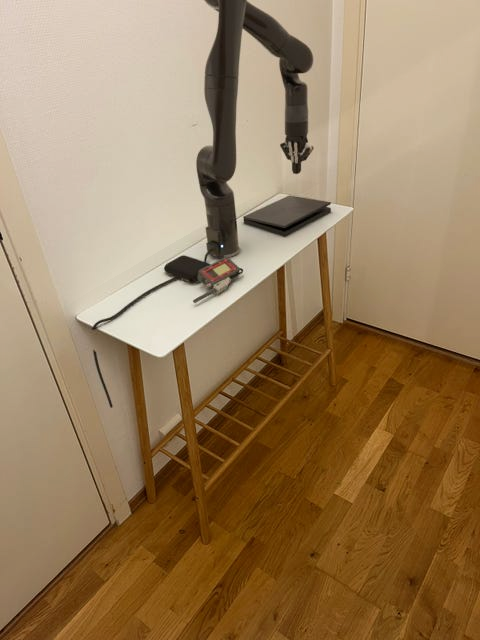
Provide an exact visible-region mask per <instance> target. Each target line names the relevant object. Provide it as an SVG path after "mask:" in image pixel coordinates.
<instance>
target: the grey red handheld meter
mask: <svg viewBox="0 0 480 640" xmlns="http://www.w3.org/2000/svg"><path fill="white" fill-rule="evenodd" d="M209 264H210V265H208V266H207V267H205V268H203V269H201V270H199V272H198V277H197V278H198V283H202V284H203V285H204V286H205V288H206V289H207V290H208V291H207V292H205V293H203V294H202V295H199V296H198V297H196V298H194V299H193V300H192V303H193V304H197V303H198V302H200V301H202V300H204V299H205V298H207V297H209V296H211V295H214V294H216V295H219V294H220V293H222V292H223V291H225V290H227V289H228V286H229V284H230V283H231V282H232V280H233V279H235V278H238V277H239V276H240V275H241V274H243V273H244V269H243V268H241V267H240V266H238V265H237V264H236V262H234V261H233V260H232V259H231V257H224V258H222V259H218V260H216V261H215V262H213V263H209Z"/></svg>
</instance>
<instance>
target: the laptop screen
mask: <svg viewBox="0 0 480 640" xmlns="http://www.w3.org/2000/svg"><path fill="white" fill-rule="evenodd" d="M330 205H332V202H331V201H326V200H321V199H315V198H308V197H302V196H297V195H291V194H289V195H287V196H285V197H283V198H280V199H278V200H276V201H274V202H271V203H270V204H268V205H265V206H263V207H260V208H259V209H256V210H255V211H252V212H250V213H248V214H246V215H244V216H242V218H243V220H244V219H247V220H251V221H256V222H260V223H264V224H269V225H273V226H277V227H281V228H286V227H288V226H290V225H292V224H294V223H296V222H298V221H300V220H301V219H303V218H305V217H307V216H309V215H311V214H313V213H315V212H317V211H319V210H321V209H323V208H325V207H329V206H330Z"/></svg>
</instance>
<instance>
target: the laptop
mask: <svg viewBox="0 0 480 640" xmlns="http://www.w3.org/2000/svg"><path fill="white" fill-rule="evenodd" d="M331 212H332V208H331V207H329V206H327V207H325V208H323V209H321V210H319V211H317V212H315V213H313V214H311V215H309V216H307V217H305V218H303V219H301V220H300V221H298V222H296V223H294V224H292V225H290V226H288V227H286V228H281V227H277V226H273V225H269V224H264V223H260V222H256V221H251V220H247V219H243V224H244V225H246V226H247V225H248V226H251V227H253V228H256V229H260V230H263V231H266V232H268V233H272V234H274V235H278V236H282V237H284V238H287V236H290V235H292V234H293V233H295V232H297V231H299V230H301V229H302V228H304V227H306V226H308V225H310V224H312V223H313V222H316V221H317V220H319V219H321V218H323V217H324V216H327V215H328V214H330V213H331Z"/></svg>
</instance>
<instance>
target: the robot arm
mask: <svg viewBox="0 0 480 640" xmlns="http://www.w3.org/2000/svg"><path fill="white" fill-rule="evenodd" d="M203 1H204V2H205V4H206V5H207V6H208V7H210V8H212V10H214V11H216V12H218V20H217V28H216V29H217V30H216V34H215V37H214V40H213V43H212V45H211V48H210V51H209V53H208V56H207V58H206V62H205V65H204V77H203V79H204V80H203V95H204V96H203V97H204V101H205V105H206V110H207V112H208V115H209V118H210V121H211V126H212V127H211V128H212V144H211V145H209V144H208V145H205V146H203V147H202V148H200V150H199V151H198V153H197V155H196V160H195V167H196V168H195V169H196V174H197V179H198V185H199V191H200V193H201V195H202V197H203V200H204V208H205V215H206V223H207V226H206V227H205V233H206V241H207V242H206V243H205V244H206V250H207V251H206V253H205V255H204V260H203V262H206V263H207V260H208V256H209V255H210V256H213V257H215V258H216V259H217V258H218V259H219V260H221V259H222V258H224V257H228V258H232V257H234V256H236V255H238V254H239V253H240V249H241V248H240V241H239V232H238V223H237V222H238V221H237V212H236V211H237V209H236V200H235V193H234V190H233V189H232V188H231V186H230V185H229V184H228V182H229V181H230V180H231V179H232V178H233V177H234V175H235V173H236V170H237V114H238V113H237V108H238V97H239V96H238V95H239V85H240V84H239V82H240V62H241V61H240V60H241V46H242V36H243V31H245V32H246V33H248V34H249V35H250V36H251V37H252V38H253V39H254V40H256V41H257V42H258V43H259V44H260V45H261V47H263V48H264V49H265V50H266V51H267V52H268V53H269V54H271V55H272V57H276V58H277V59H278V58H279V60H278V65H279V72H280V76H281V81H282V84H283V88H284V135H285V139H284V141H283V142H282V143H280V144H279V146H280V148H281V150H282V152H283V154H284V156H285V157H286V160H288V161H290V162H291V171H292V174H293V175H298V174H301V172H302V163H303V162H305V161H307V159H308V158H309V156H310V155H311V154H312V152H313V151H314V149H315V148H314V145H313V146H312V145H310V144H309V139H308V133H309V104H308V101H309V99H308V97H309V96H308V95H309V92H308V88H309V87H308V84H307V83H306V82H304V81H302V80H301V79H300V75H301V74H306V73H308V72H309V71H310V70H311V69H312V67H313V65H314V54H313V51H312V49H311V48H310V47H309V46H308V44H306V43H305V42H303V41H302V40H300V39H299V38H297V37H295V36H294V35H292V34H290V33H289V31H288V30H287V29H286V28H285V27H284V26H283V25H282V24H281V23H280V22H279V21H278V20H277V19H275V18H274V17H273V16H272V15H270V13H267V12H265V11H264V10H262V9H260V8H259V7H257V6H255V5H254V4H252V3H251V2H250V1H248V0H203ZM299 74H300V75H299ZM177 279H180V278H179V277H177V276H174V277H172V278H169V279H168V280H166V281H164V282H162V283H159V284H158V285H155V286H154V287H152V288H150V289H148V290H147V291H145V292H144V293H142V294H141V295H138V296H137V297H136V298H134V299H133V300H132V301H130V302H129V303H127V304H126V305H125V306H124V307H123V308H122V309H120V310H119V311H118V312H116V313H115V314H113V315H111V316H109V317H107V318H102V319H100V320H98V321H97V322H95V323H94V324H93V325H92V327H91V331H94V330H95V329H96V328H97V327H98V325H99V324H102V323H105V322H109V321H111V320H113V319H115V318H117V317H118V316H120V315H121V314H123V312H125V311H126V310H127V309H128V308H129V307H131V306H132V305H134V304H135V303H136V302H138V301H139V300H140V299H142V298H143V297H145V296H146V295H148V294H150V293H151V292H153V291H155V290H156V289H159V288H161V287H163V286H165V285H167V284H169V283H171V282H173V281H176V280H177ZM92 354H93V359H94V363H95V367H96V371H97V373H98V377H99V379H100V382H101V385H102V387H103V390H104V393H105V396H106V399H107V401H108V404H109V407H110V409H112V408H113V403H112V399H111V397H110V394H109V391H108V388H107V386H106V383H105V380H104V378H103V374H102V372H101V368H100V365H99V360H98V359H99V358H98V354H97V351H96V350H94V349H92Z"/></svg>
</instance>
